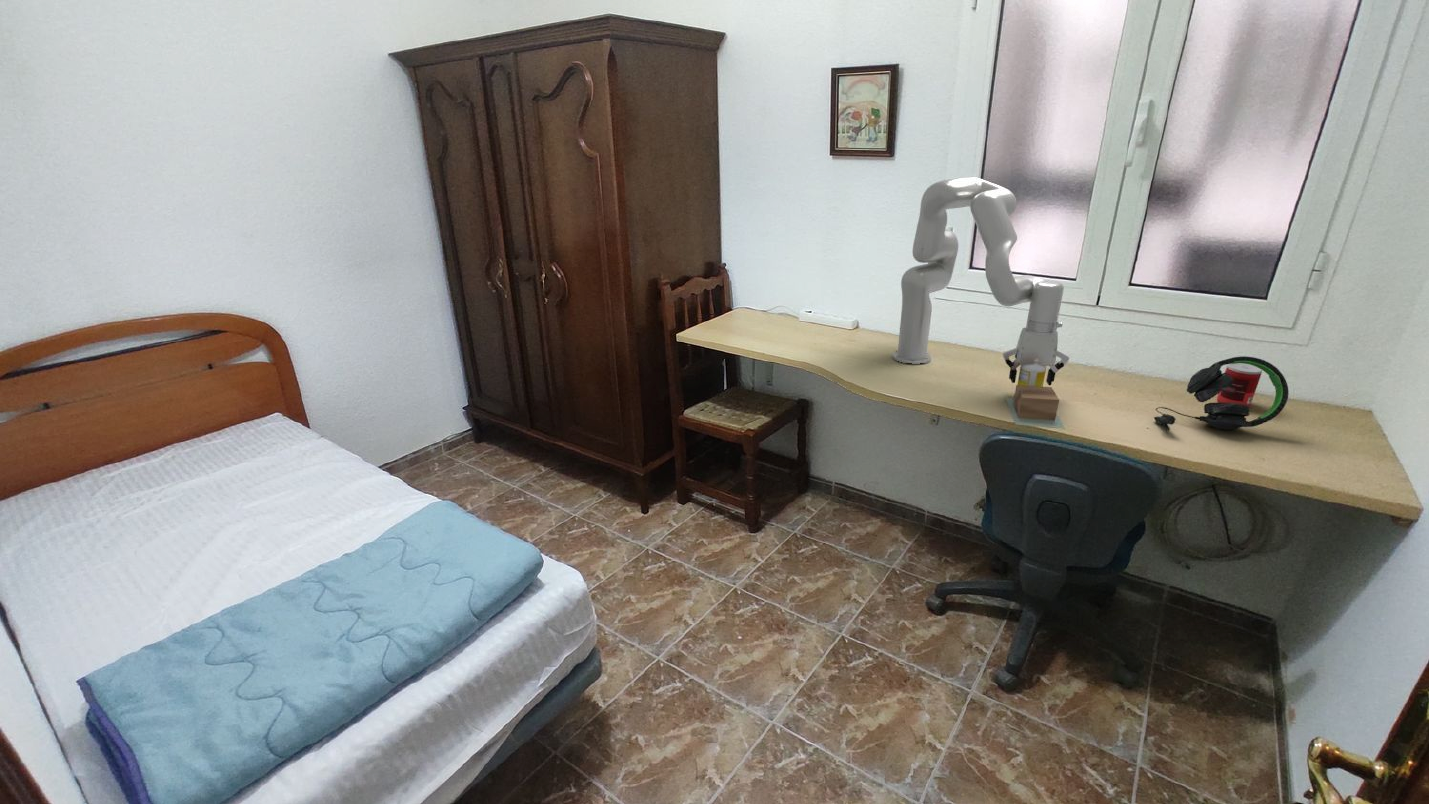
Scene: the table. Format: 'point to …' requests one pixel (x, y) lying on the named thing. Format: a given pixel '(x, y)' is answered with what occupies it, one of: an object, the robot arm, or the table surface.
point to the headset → (1229, 414)
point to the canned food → (1240, 384)
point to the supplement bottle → (1032, 374)
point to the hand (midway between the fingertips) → (1030, 382)
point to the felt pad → (1032, 422)
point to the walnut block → (1035, 402)
